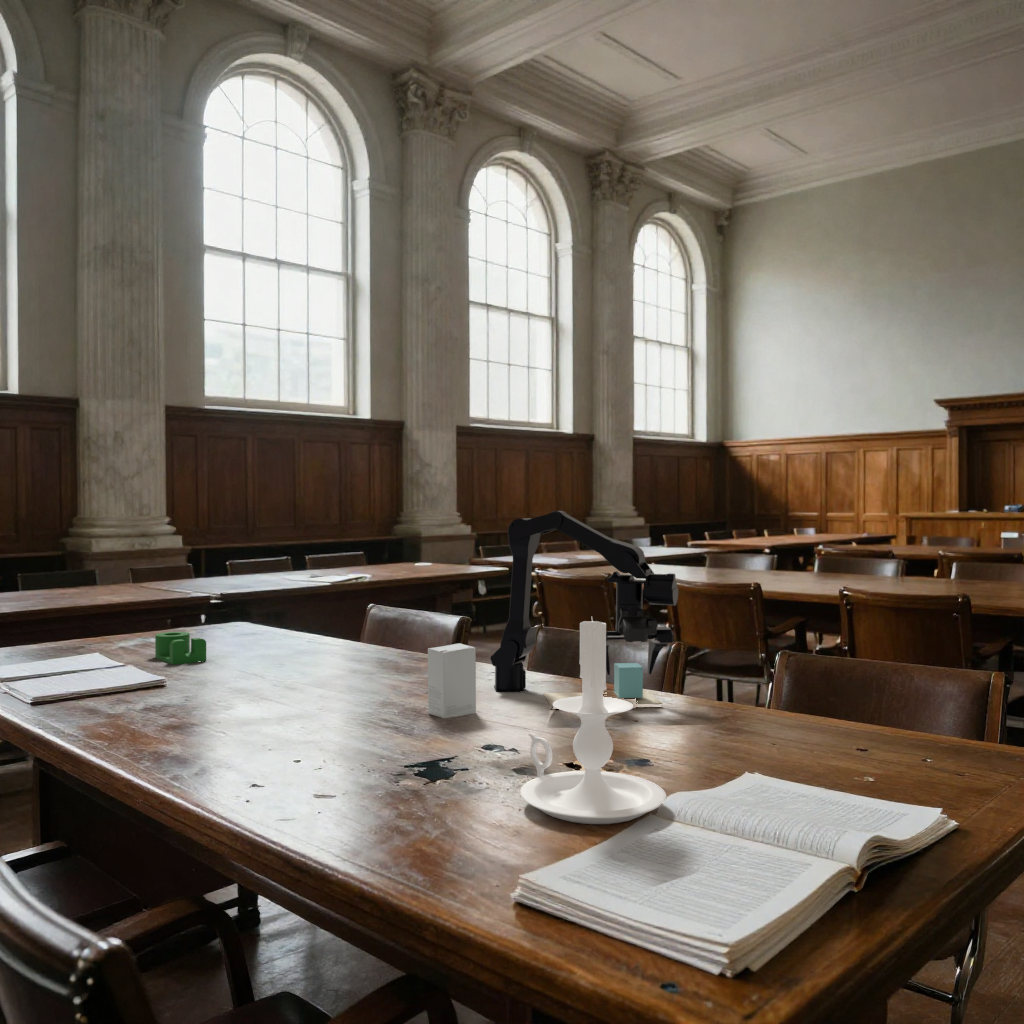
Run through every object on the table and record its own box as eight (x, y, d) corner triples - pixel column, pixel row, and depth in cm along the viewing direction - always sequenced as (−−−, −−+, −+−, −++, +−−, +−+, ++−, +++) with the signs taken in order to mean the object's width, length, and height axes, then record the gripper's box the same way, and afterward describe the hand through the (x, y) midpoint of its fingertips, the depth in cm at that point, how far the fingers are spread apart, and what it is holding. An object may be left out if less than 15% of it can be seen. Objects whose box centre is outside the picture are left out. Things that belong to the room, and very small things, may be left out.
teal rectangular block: (619, 698, 200) (619, 667, 200) (614, 693, 205) (614, 663, 205) (642, 697, 200) (642, 667, 200) (637, 692, 206) (637, 663, 206)
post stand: (550, 710, 195) (550, 674, 195) (543, 697, 207) (543, 664, 207) (662, 707, 198) (662, 672, 197) (648, 695, 209) (648, 662, 209)
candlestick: (580, 776, 149) (581, 602, 149) (697, 819, 129) (698, 619, 129) (474, 801, 137) (475, 611, 136) (585, 853, 117) (586, 631, 116)
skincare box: (459, 714, 191) (460, 642, 191) (477, 719, 186) (477, 646, 186) (426, 720, 186) (426, 646, 186) (443, 726, 181) (443, 650, 181)
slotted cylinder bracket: (151, 656, 260) (150, 633, 260) (183, 653, 266) (183, 630, 266) (172, 665, 246) (172, 641, 246) (206, 662, 252) (206, 638, 252)
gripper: (594, 608, 194) (593, 682, 194) (681, 607, 195) (680, 681, 196) (584, 602, 205) (584, 672, 205) (667, 601, 207) (666, 671, 207)
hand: (628, 674), depth 203 cm, fingers open, 9 cm apart
